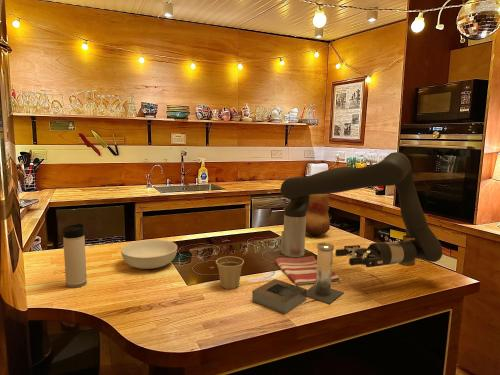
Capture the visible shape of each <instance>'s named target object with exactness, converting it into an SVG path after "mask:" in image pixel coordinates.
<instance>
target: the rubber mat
mask: <svg viewBox="0 0 500 375" xmlns="http://www.w3.org/2000/svg"><path fill="white" fill-rule="evenodd" d="M315 291H316V284H315V285H311V287H309V288H307V292H306V298H309V299H312V300H316V301H318V302H322V303H325V304H327V305H331V304H332V303H333V302H335V301H337V299H338V298H340V297H341V296H343V294H344V291H340V290H336V289H334V288H331V294H330V295H329V296H320V295H317V294H316V293H315Z"/></svg>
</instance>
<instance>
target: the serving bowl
mask: <svg viewBox="0 0 500 375" xmlns="http://www.w3.org/2000/svg"><path fill="white" fill-rule="evenodd" d="M177 252H178V244H176V243H175V242H173V241H171V240H165V239H143V240H137V241H133V242H129V243H128V244H125V245H124V246H123V247H121V248H120V254H121V257H122V259H123V261H124V262H125V263H126V264H127V265H129V266H130V267H133V268H135V269H144V270H147V269H148V270H150V269H157V268H161V267H164V266H166V265H169V264H170V263H171V262H172V261H173V260H174V259H175V257H176V255H177Z"/></svg>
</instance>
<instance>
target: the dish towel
mask: <svg viewBox="0 0 500 375" xmlns="http://www.w3.org/2000/svg"><path fill="white" fill-rule="evenodd" d="M274 263H275V264H276V265H277V266H278V268H279V269H280V270H281V271H282V272H283V274H285V275H286V276H287V277H288V278H289V280H291V282H292V283H294V285H295V286H298V287H305V286H314V285H315V284H316V272H317V258H316V257H315V255H310V256H302V257H287V256H284V257H283V256H282V257H278V258H276V259H274ZM339 281H340V277H339V276H338V275H337V273H336V272H334V271H332V277H331V284H337V283H340V282H339Z"/></svg>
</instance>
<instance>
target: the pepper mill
mask: <svg viewBox="0 0 500 375" xmlns="http://www.w3.org/2000/svg"><path fill="white" fill-rule="evenodd" d="M412 239H414V238H412V237H411V236H410V235H409V234H408V232H407V229H406V230H405V235H402V242H406V241H409V240H412ZM415 261H416V258H415V259H414V260H413V261H411V262H404V263H399V264H400V265H402V264H403V266H407V265H412V266H414V265H415V263H416V262H415Z"/></svg>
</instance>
